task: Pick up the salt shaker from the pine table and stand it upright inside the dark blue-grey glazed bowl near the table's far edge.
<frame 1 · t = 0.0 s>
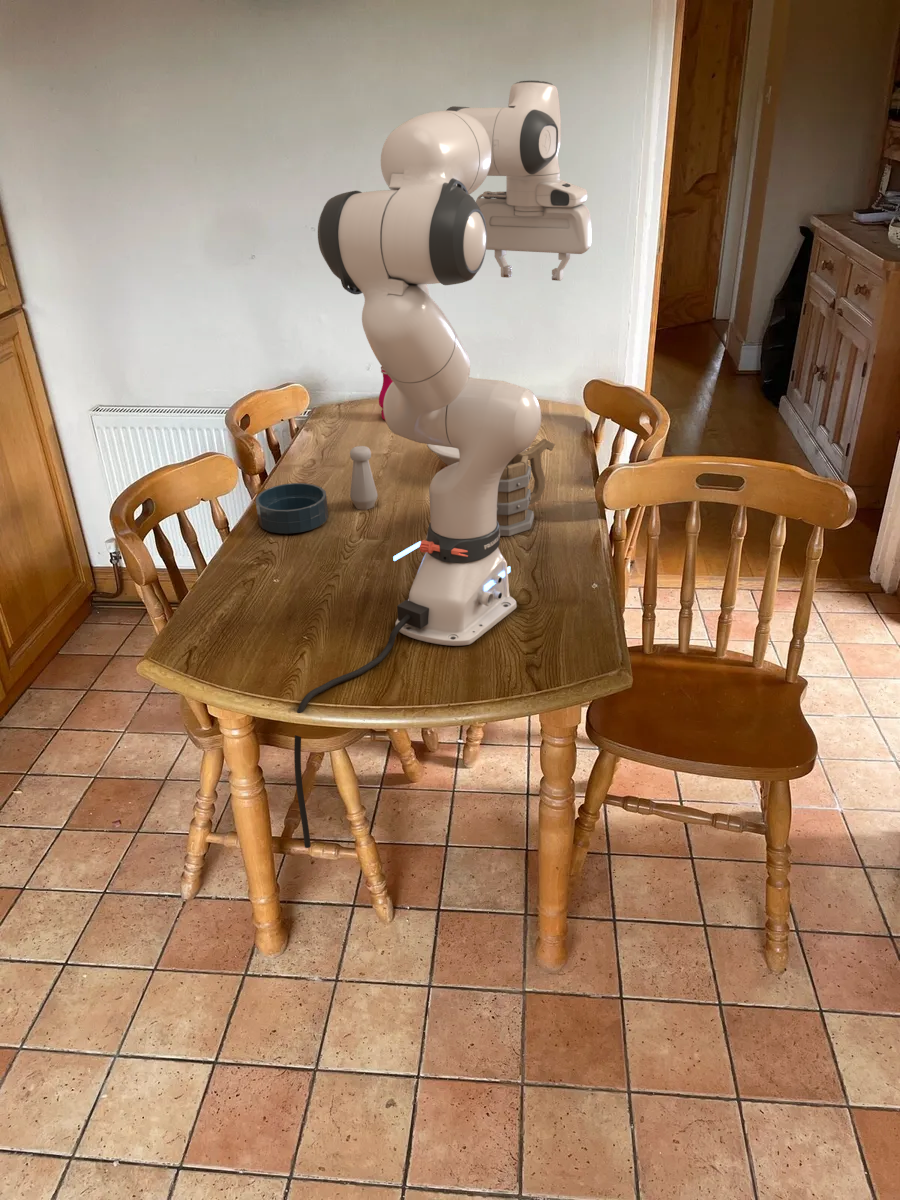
hand: (531, 278, 161), 48 cm above the table, tool pointing down, fingers open, 8 cm apart
tankard: (515, 518, 189), on the table
glazed bowl: (294, 521, 191), on the table
soup bowl: (479, 467, 214), on the table
salt shaker: (364, 506, 197), on the table
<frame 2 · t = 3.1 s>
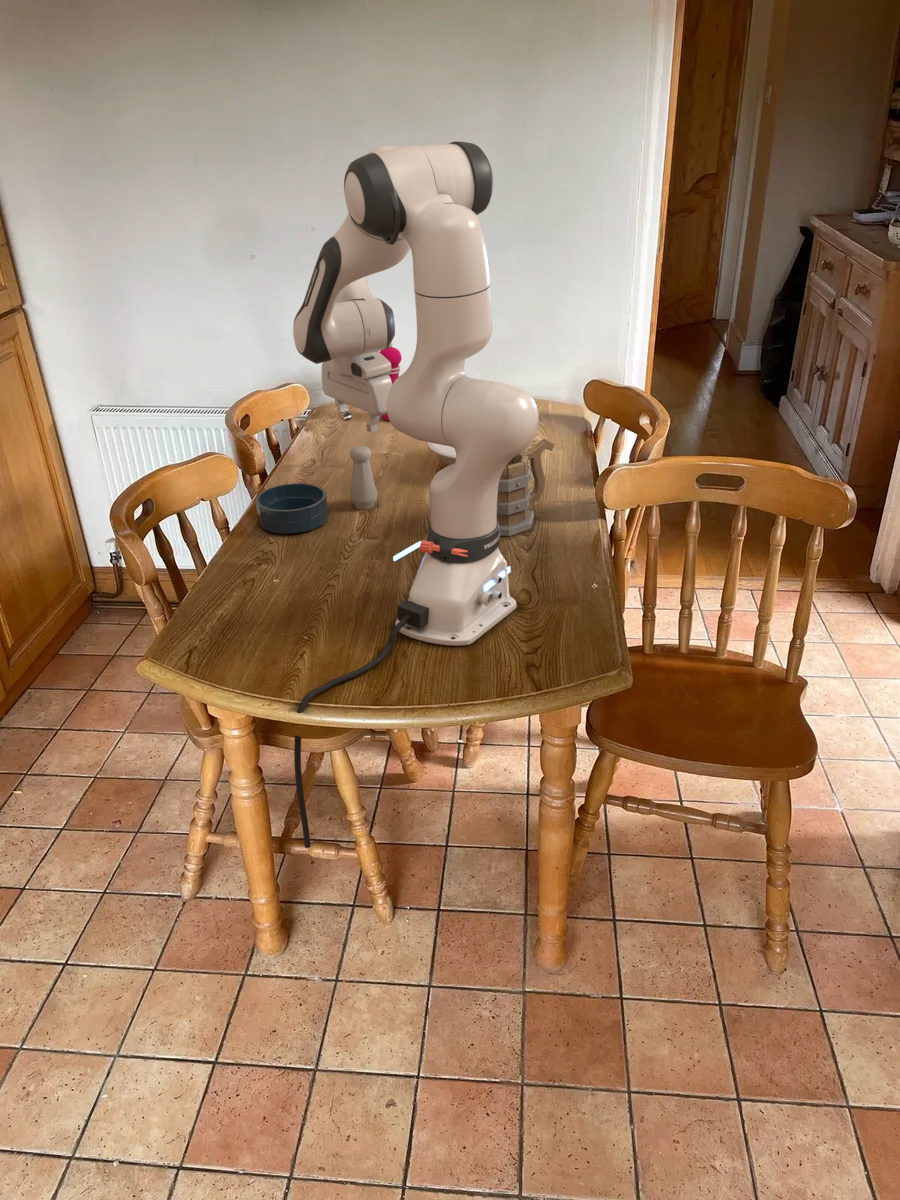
hand: (359, 425, 188), 18 cm above the table, tool pointing down, fingers open, 8 cm apart
nothing on the table moved.
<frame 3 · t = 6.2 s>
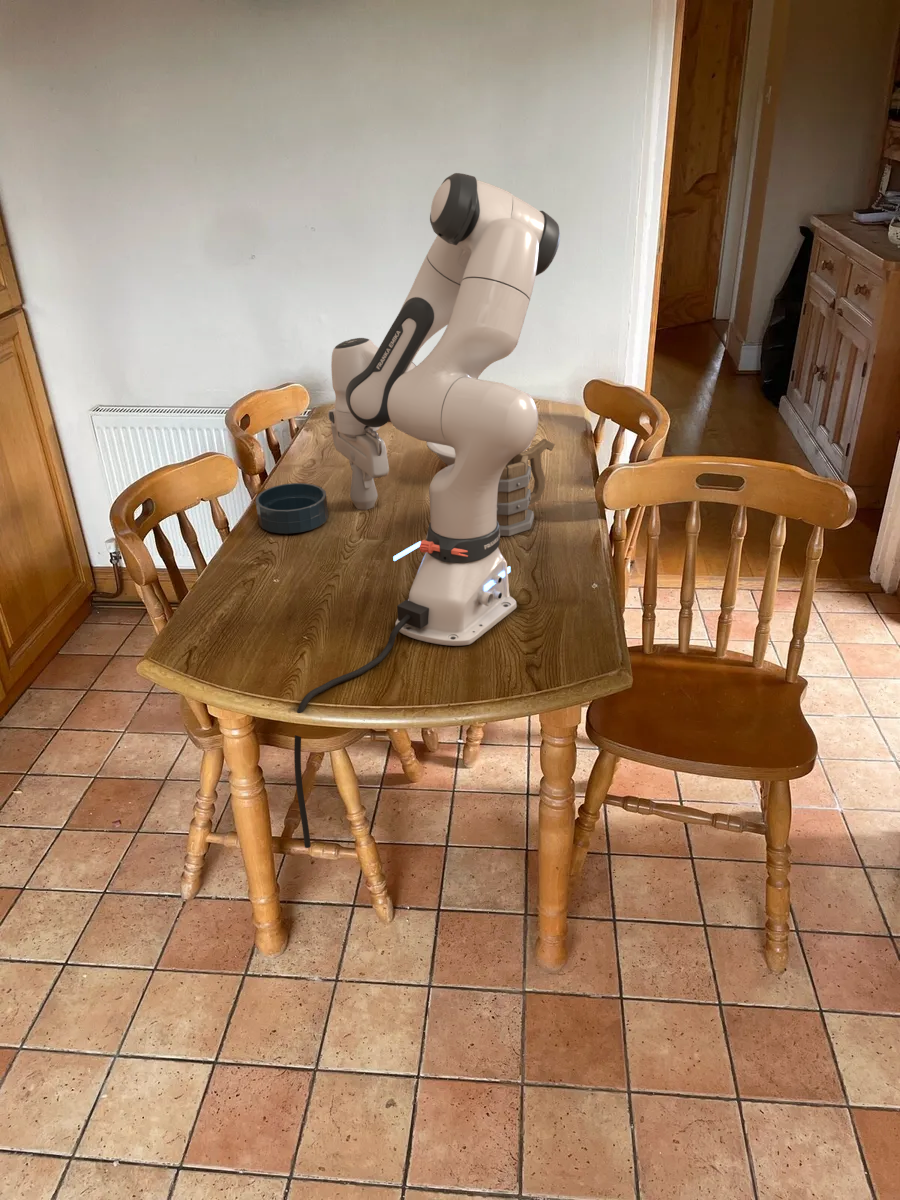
hand: (363, 483, 194), 5 cm above the table, tool pointing down, fingers closed on salt shaker, 3 cm apart
salt shaker: (364, 506, 197), on the table, touching gripper
everything else where it was.
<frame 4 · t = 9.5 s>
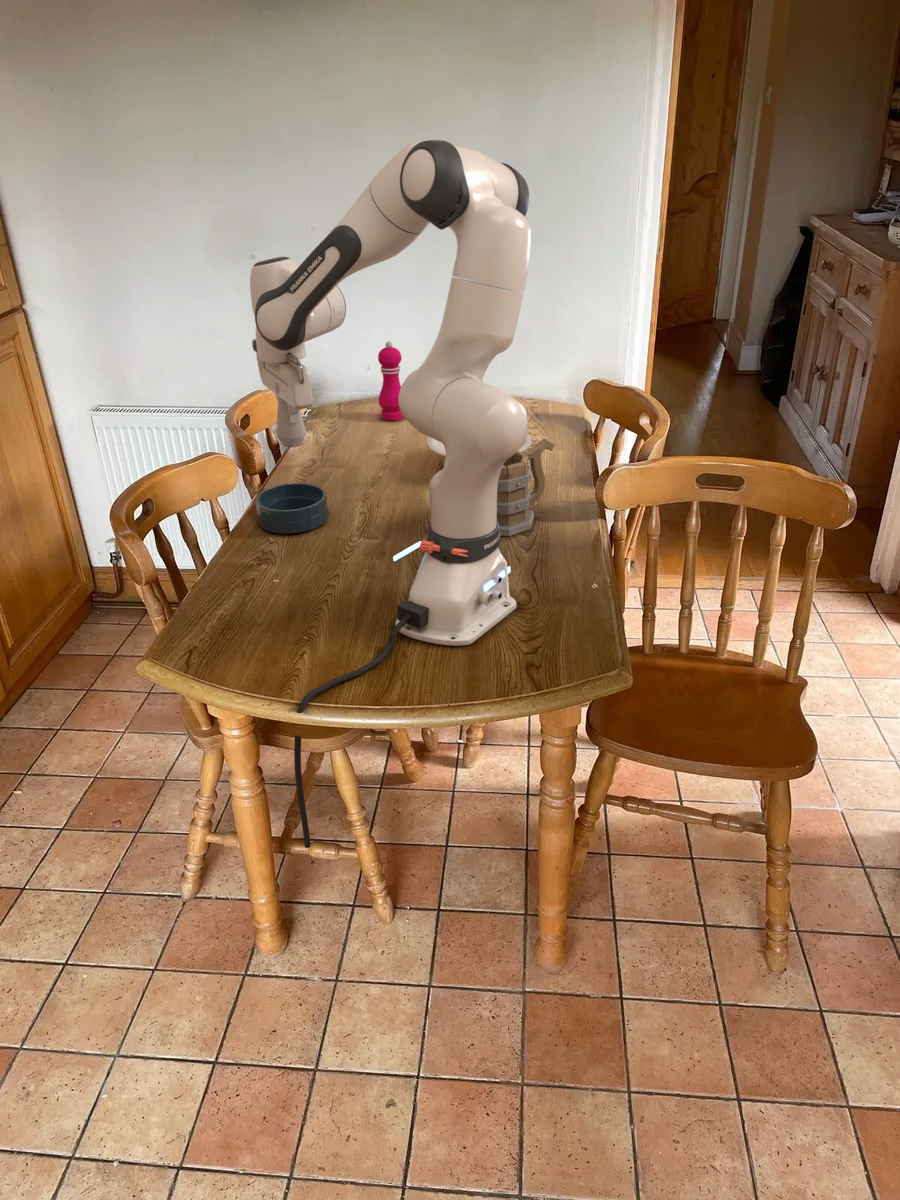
hand: (289, 419, 181), 22 cm above the table, tool pointing down, fingers closed on salt shaker, 3 cm apart
salt shaker: (292, 444, 183), point 16 cm above the table, touching gripper
everything else where it was.
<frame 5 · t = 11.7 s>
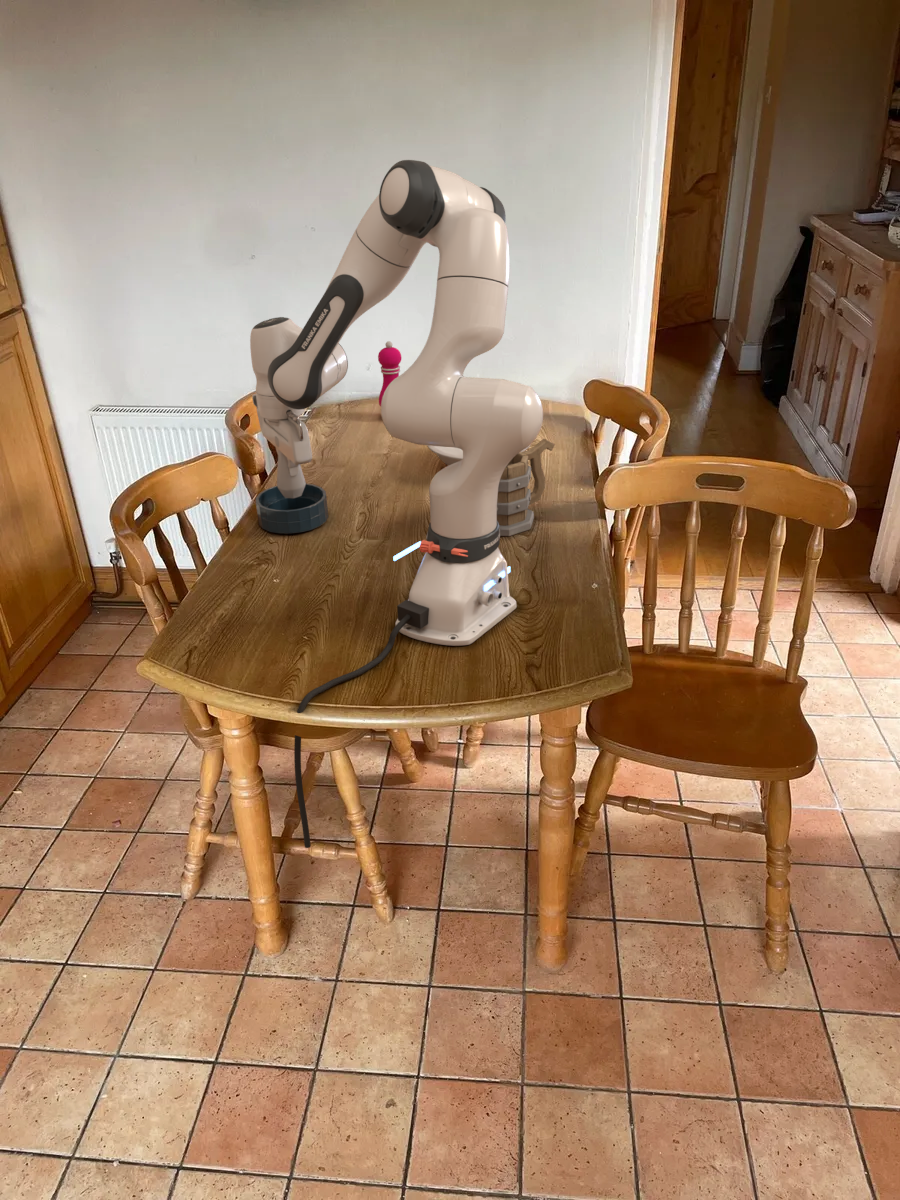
hand: (289, 470, 186), 11 cm above the table, tool pointing down, fingers closed on salt shaker, 3 cm apart
salt shaker: (292, 495, 188), point 6 cm above the table, touching gripper
everything else where it was.
when the fingers open (6 cm above the table, at t = 13.3 s): salt shaker stays where it is, resting on glazed bowl.
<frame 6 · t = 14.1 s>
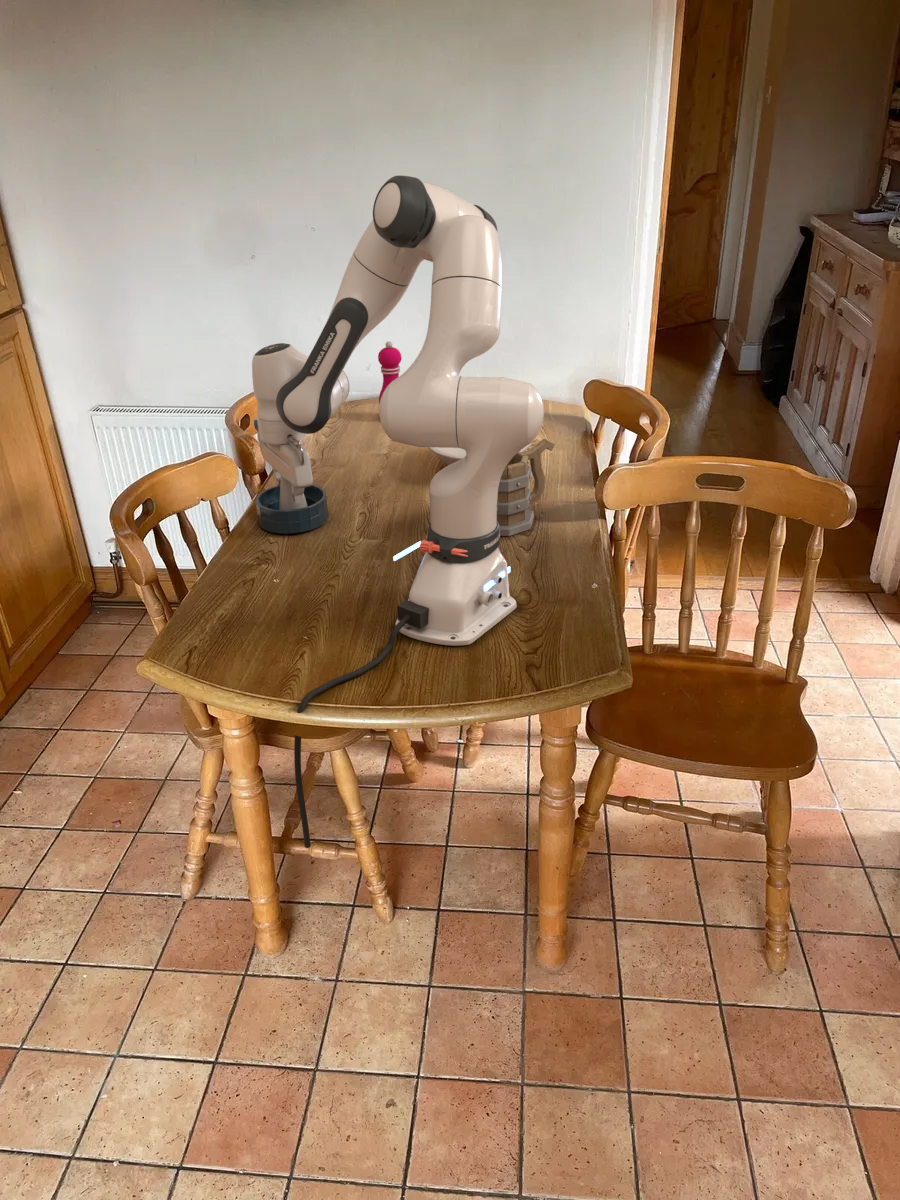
hand: (290, 493, 188), 6 cm above the table, tool pointing down, fingers open, 8 cm apart
salt shaker: (294, 519, 191), resting on glazed bowl
everything else where it was.
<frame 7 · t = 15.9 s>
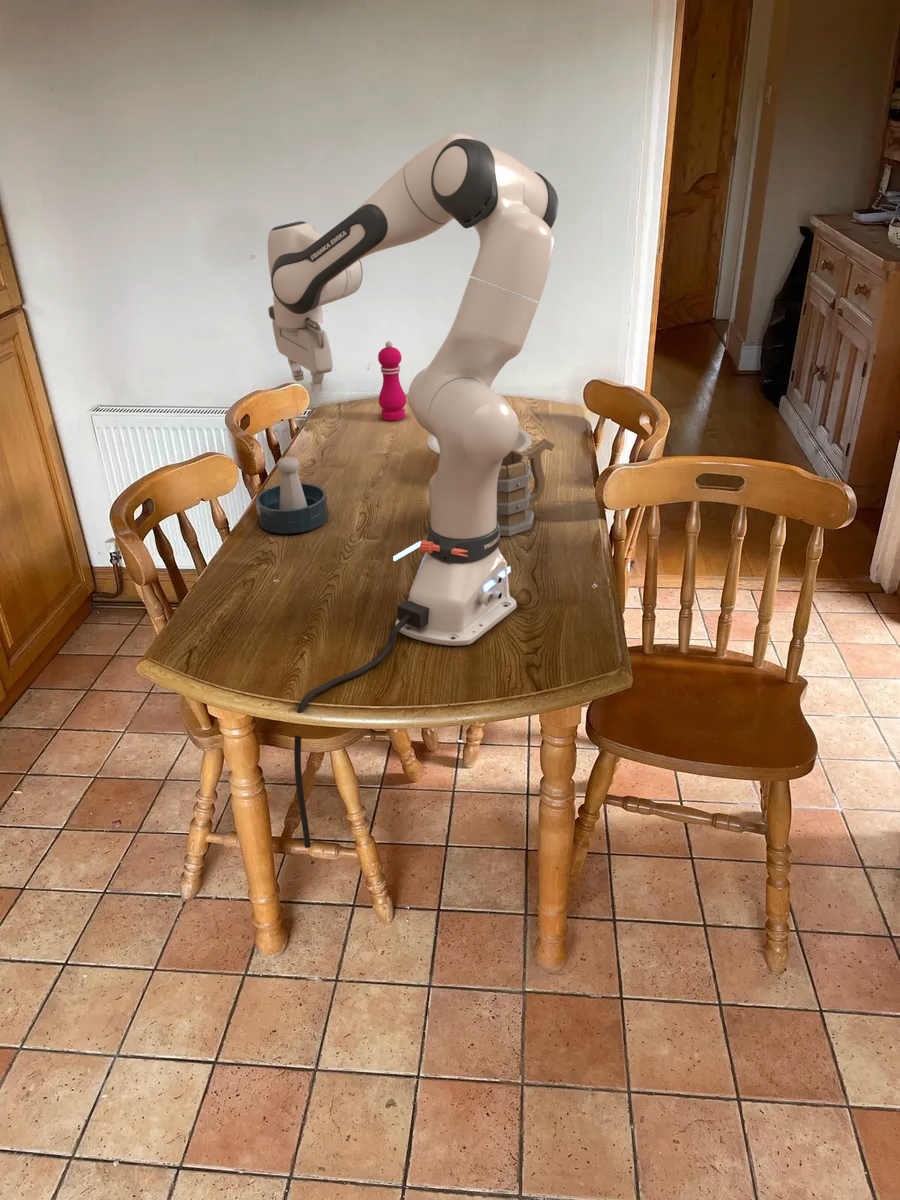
hand: (307, 385, 181), 27 cm above the table, tool pointing down, fingers open, 8 cm apart
nothing on the table moved.
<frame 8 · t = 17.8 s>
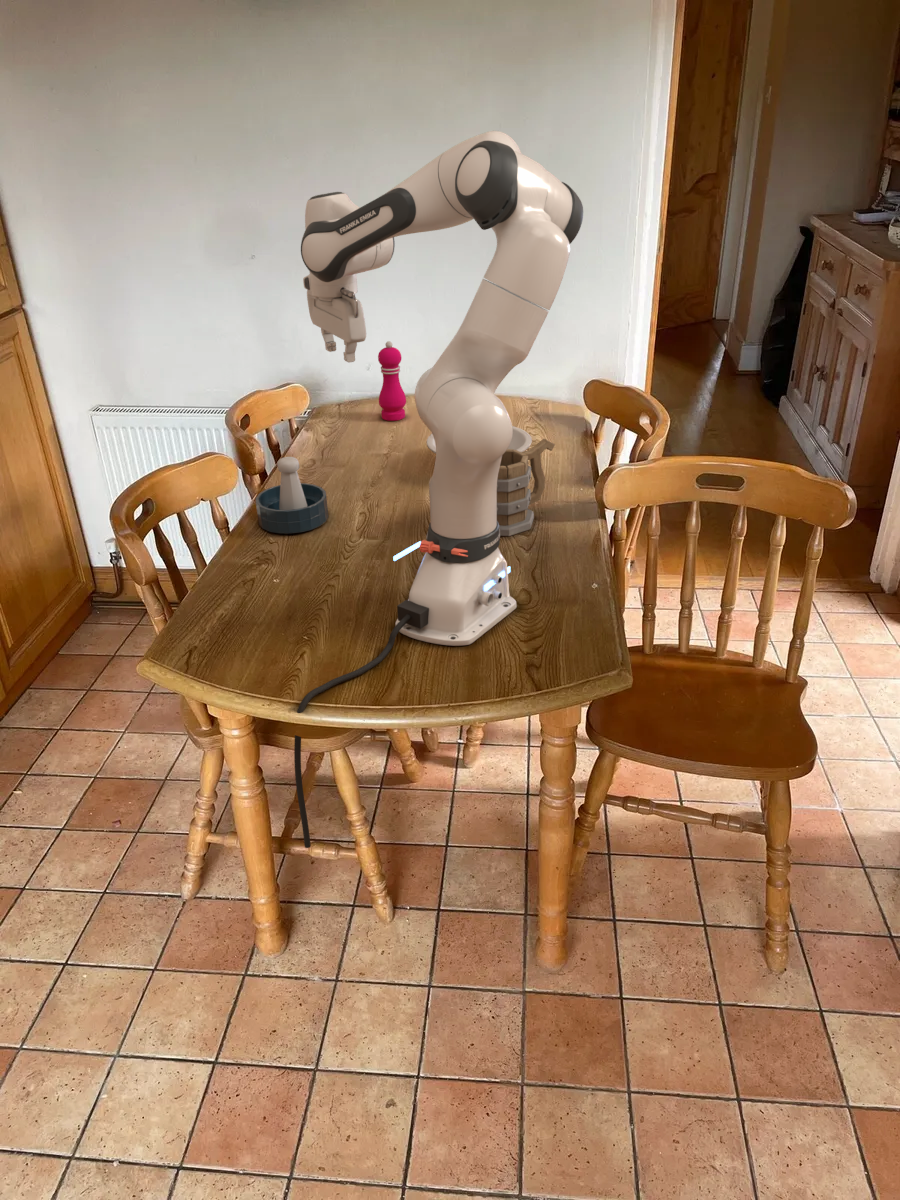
hand: (340, 356, 184), 31 cm above the table, tool pointing down, fingers open, 8 cm apart
nothing on the table moved.
at the end: salt shaker inside the target area in the glazed bowl (0.2 cm from its centre), point 0.4 cm above the glazed bowl's base; salt shaker tilted 0°; the gripper is holding nothing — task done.
